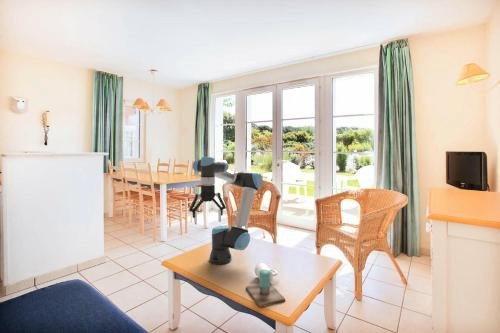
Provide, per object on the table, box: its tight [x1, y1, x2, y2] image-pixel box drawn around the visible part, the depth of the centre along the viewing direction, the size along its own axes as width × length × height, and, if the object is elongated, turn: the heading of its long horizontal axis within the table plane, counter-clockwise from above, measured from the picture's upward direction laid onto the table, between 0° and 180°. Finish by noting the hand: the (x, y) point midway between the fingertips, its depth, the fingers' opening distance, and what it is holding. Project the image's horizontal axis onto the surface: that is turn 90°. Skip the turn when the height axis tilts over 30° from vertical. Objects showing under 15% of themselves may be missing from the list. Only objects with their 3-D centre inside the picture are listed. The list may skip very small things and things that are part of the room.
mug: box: [254, 262, 278, 283], centre depth 147 cm, size 12×10×8 cm
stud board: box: [245, 282, 286, 308], centre depth 131 cm, size 18×14×10 cm
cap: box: [258, 270, 271, 288], centre depth 131 cm, size 5×5×7 cm
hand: (207, 222), depth 140 cm, fingers open, 13 cm apart
